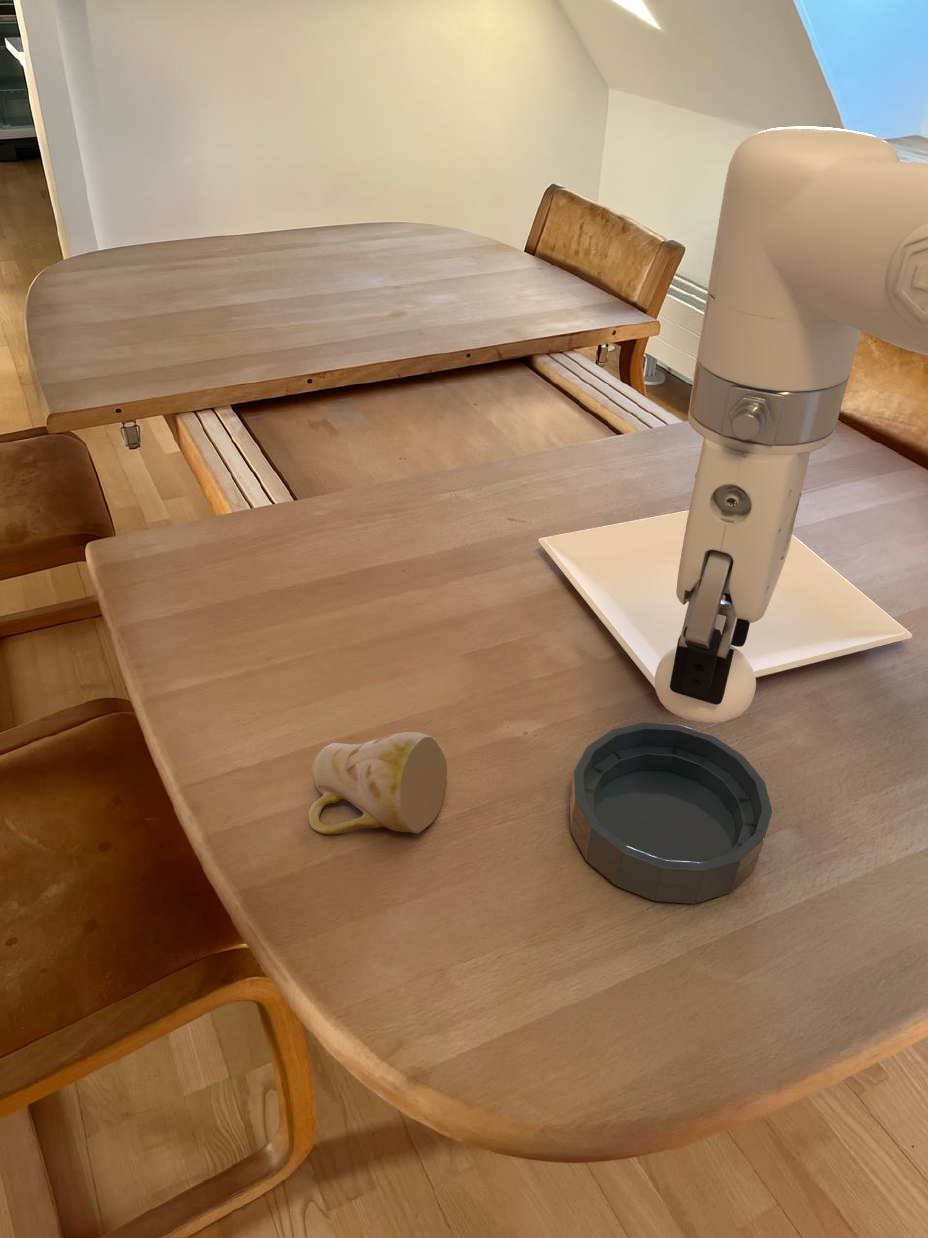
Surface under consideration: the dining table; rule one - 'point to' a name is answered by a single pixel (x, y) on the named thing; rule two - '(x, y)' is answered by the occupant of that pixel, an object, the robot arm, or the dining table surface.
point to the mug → (382, 782)
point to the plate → (653, 615)
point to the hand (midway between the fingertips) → (708, 664)
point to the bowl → (668, 812)
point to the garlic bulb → (693, 709)
